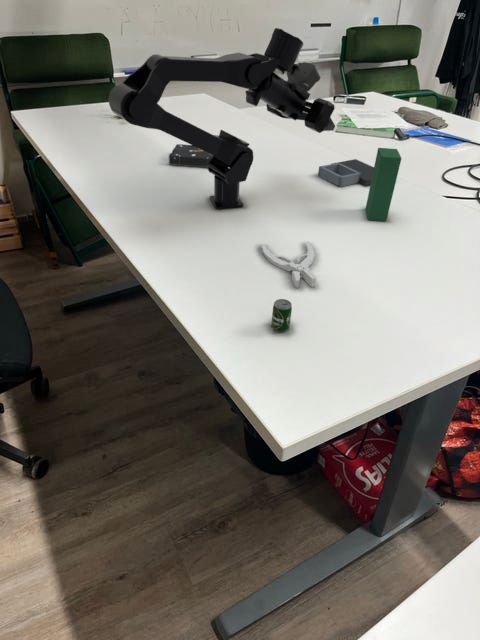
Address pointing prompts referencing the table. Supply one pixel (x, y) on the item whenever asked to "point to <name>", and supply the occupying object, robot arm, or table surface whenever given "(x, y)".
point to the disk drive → (189, 156)
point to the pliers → (294, 265)
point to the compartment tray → (347, 173)
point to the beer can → (281, 315)
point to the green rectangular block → (382, 183)
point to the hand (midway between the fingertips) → (320, 123)
